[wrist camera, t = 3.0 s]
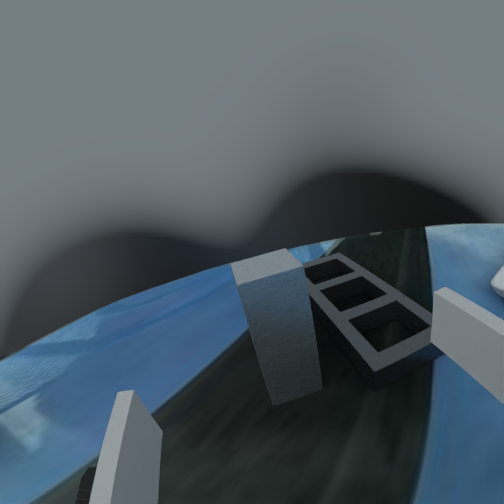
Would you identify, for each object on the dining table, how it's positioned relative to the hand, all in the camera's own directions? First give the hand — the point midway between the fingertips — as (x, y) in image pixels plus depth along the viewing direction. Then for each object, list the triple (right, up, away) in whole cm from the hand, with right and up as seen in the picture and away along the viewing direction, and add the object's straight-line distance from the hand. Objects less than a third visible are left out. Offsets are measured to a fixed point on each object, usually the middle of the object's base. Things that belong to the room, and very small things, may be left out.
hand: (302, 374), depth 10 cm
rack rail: (+11, -2, +23) cm, 25 cm away
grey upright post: (+2, -7, +14) cm, 16 cm away
